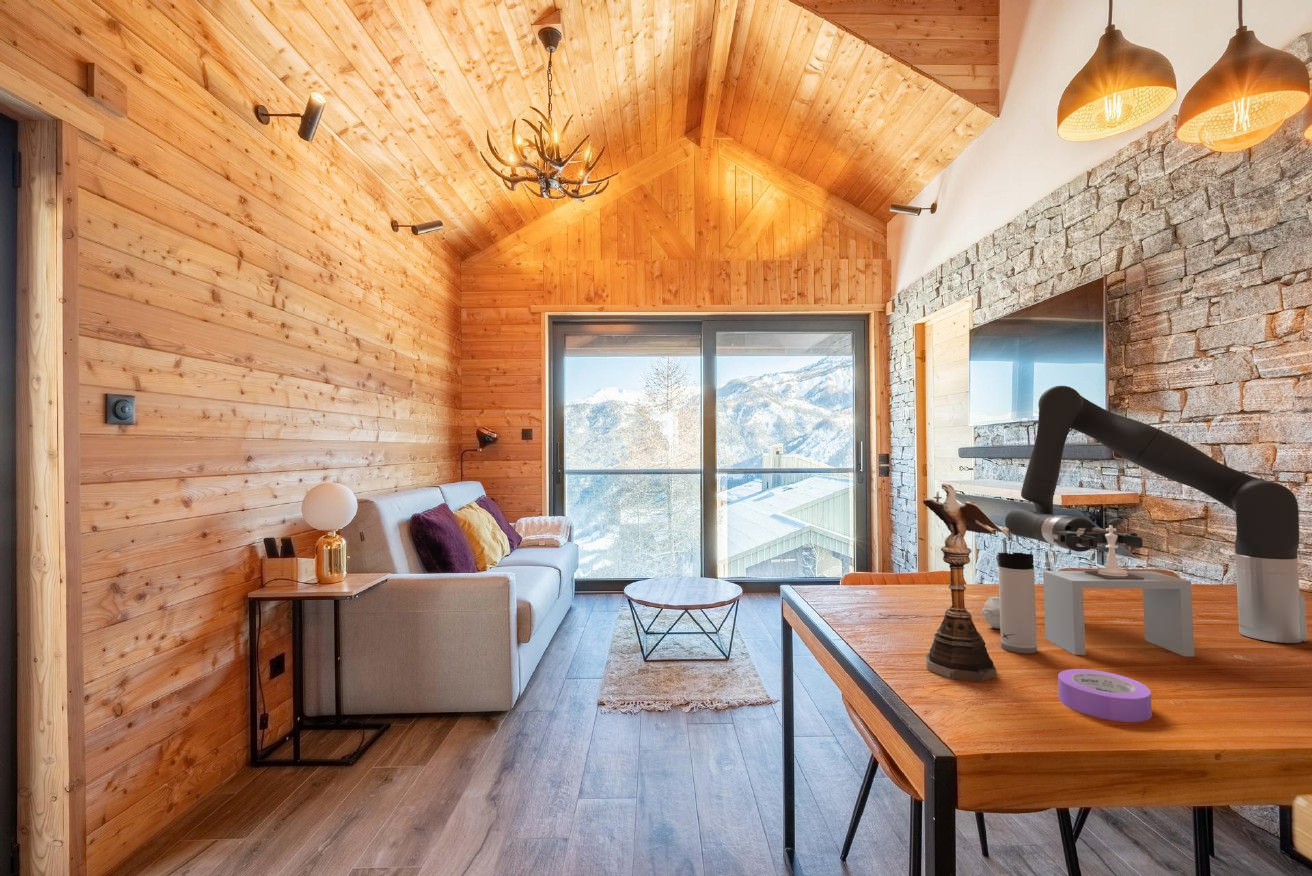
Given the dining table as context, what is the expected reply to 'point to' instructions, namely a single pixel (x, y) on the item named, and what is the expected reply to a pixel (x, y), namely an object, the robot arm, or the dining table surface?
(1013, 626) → the travel mug
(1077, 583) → the bridge
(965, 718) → the dining table surface
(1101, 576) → the pad
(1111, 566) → the chess piece
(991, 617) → the frog figurine
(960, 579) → the bird statue
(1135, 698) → the masking tape
